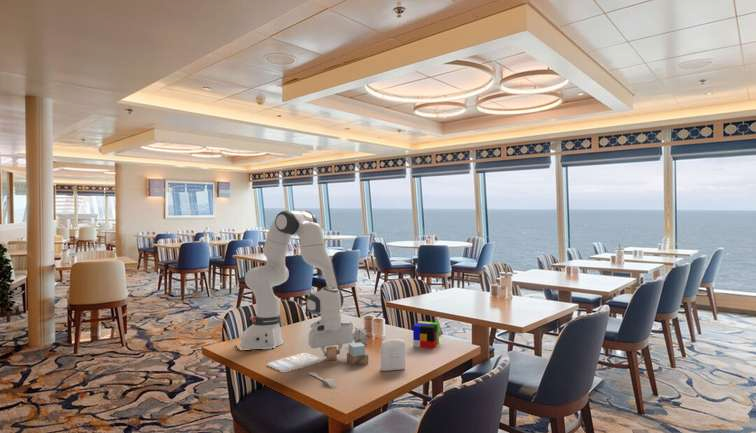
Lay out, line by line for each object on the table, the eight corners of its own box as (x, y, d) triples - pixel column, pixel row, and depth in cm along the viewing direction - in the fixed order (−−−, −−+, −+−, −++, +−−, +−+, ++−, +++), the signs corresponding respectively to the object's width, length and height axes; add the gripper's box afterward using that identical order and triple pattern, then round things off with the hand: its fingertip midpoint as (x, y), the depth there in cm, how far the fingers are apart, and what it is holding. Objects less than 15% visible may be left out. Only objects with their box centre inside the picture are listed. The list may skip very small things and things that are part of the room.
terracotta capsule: (328, 361, 189) (328, 349, 189) (324, 358, 193) (324, 346, 193) (338, 359, 191) (338, 348, 191) (334, 356, 195) (334, 345, 195)
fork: (313, 378, 177) (312, 371, 177) (339, 388, 160) (338, 381, 160) (306, 380, 175) (306, 372, 175) (332, 390, 158) (331, 382, 158)
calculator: (322, 362, 190) (322, 357, 190) (283, 374, 175) (283, 369, 175) (304, 355, 199) (304, 351, 199) (265, 366, 185) (265, 362, 185)
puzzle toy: (413, 346, 209) (413, 325, 209) (419, 341, 218) (419, 321, 218) (433, 348, 205) (433, 327, 205) (438, 343, 214) (438, 322, 214)
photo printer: (403, 366, 182) (403, 336, 182) (406, 369, 178) (406, 339, 178) (379, 368, 180) (379, 338, 180) (382, 372, 176) (381, 341, 175)
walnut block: (353, 366, 182) (352, 357, 182) (347, 362, 189) (346, 352, 189) (368, 364, 186) (368, 354, 186) (361, 359, 192) (361, 350, 192)
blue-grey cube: (353, 356, 183) (353, 347, 183) (348, 353, 188) (348, 343, 188) (365, 355, 185) (365, 345, 185) (360, 351, 190) (360, 342, 190)
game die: (363, 350, 215) (374, 333, 218) (360, 349, 207) (372, 331, 210) (348, 340, 218) (359, 323, 220) (345, 339, 210) (357, 321, 212)
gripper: (350, 319, 200) (350, 349, 200) (306, 324, 191) (307, 356, 191) (355, 322, 194) (355, 353, 194) (311, 328, 185) (311, 360, 185)
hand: (331, 355), depth 192 cm, fingers closed on terracotta capsule, 5 cm apart
